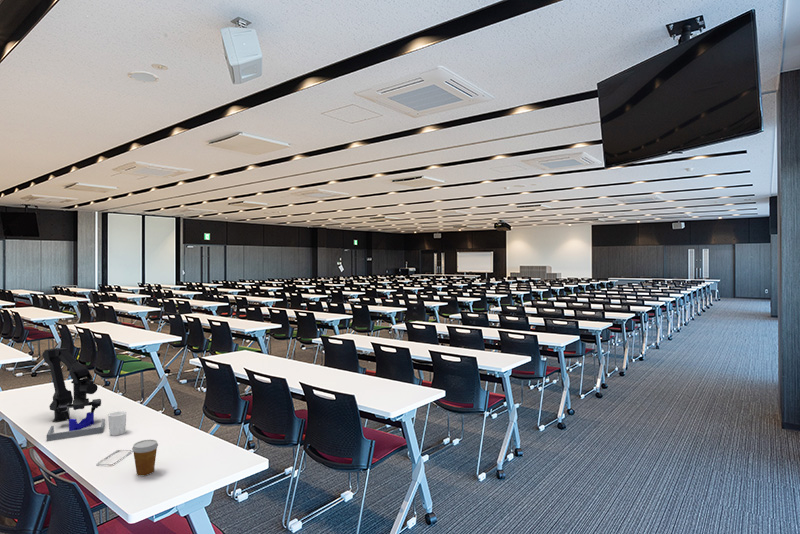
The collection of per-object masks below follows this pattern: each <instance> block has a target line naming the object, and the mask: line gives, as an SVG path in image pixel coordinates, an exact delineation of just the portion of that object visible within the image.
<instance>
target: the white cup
mask: <svg viewBox="0 0 800 534" xmlns="http://www.w3.org/2000/svg"><path fill="white" fill-rule="evenodd" d="M107 416H108V417H107V419H108V420H107V421H108V429H109V431H108V432H109V436H114V437H116V436H121V435H123V434H125V433H126V426H127V411H124V410H118V411H112V412H109V414H108V415H107Z"/></svg>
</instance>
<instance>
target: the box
mask: <svg viewBox="0 0 800 534" xmlns="http://www.w3.org/2000/svg"><path fill="white" fill-rule="evenodd" d="M105 420H106V419H105V418H102V420H101V424H100V426H96V427H90V428H82V429H80V430H74V431H69V430H68V431H62V432H55V430H54V429H55V425H51V426H50V427H49V430H48V432H47V433H46V442H49V441H58V440H65V439H70V438H79V437H85V436H91V435H98V434H99V435H100V434H103V433H104V430H105V425H106V421H105Z"/></svg>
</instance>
